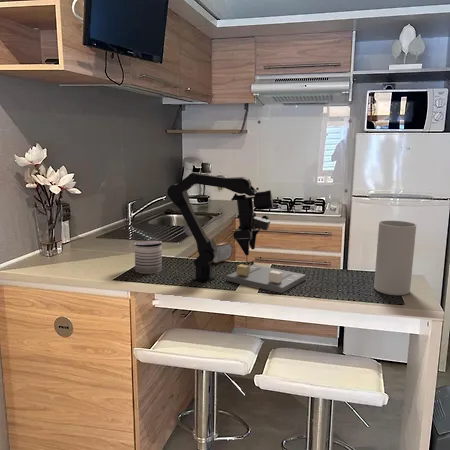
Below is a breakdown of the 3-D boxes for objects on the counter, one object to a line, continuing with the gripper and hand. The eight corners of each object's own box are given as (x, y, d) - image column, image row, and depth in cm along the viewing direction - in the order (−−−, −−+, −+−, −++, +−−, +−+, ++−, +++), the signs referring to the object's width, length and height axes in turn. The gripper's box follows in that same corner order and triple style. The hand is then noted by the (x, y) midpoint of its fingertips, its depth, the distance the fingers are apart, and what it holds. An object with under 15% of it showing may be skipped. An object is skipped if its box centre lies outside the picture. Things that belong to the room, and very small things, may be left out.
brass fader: (245, 276, 176) (245, 267, 175) (236, 274, 178) (236, 265, 177) (249, 274, 178) (249, 265, 177) (240, 272, 180) (240, 264, 180)
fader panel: (282, 293, 165) (282, 287, 164) (226, 280, 178) (226, 275, 177) (305, 279, 181) (305, 274, 181) (252, 269, 194) (253, 264, 194)
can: (134, 274, 184) (134, 245, 182) (133, 266, 195) (133, 238, 193) (163, 273, 187) (163, 244, 184) (161, 265, 197) (160, 238, 195)
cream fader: (278, 283, 168) (278, 274, 167) (268, 281, 170) (269, 272, 170) (282, 281, 170) (282, 272, 170) (272, 279, 173) (272, 270, 172)
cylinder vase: (413, 297, 163) (419, 227, 158) (376, 294, 165) (381, 225, 160) (406, 286, 175) (412, 221, 170) (371, 284, 177) (376, 219, 172)
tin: (228, 257, 212) (228, 239, 211) (233, 259, 210) (233, 240, 209) (206, 264, 201) (206, 245, 199) (211, 265, 199) (212, 246, 197)
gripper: (261, 213, 160) (266, 257, 162) (271, 205, 177) (276, 245, 180) (230, 216, 163) (235, 258, 166) (244, 208, 181) (248, 246, 183)
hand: (250, 252), depth 174 cm, fingers open, 9 cm apart
